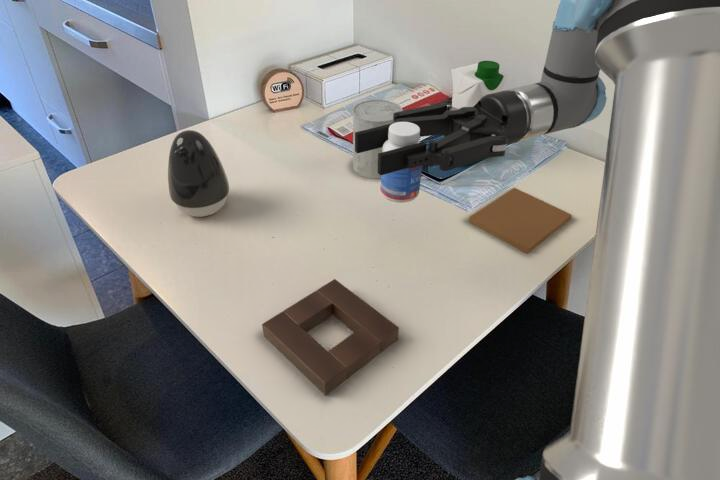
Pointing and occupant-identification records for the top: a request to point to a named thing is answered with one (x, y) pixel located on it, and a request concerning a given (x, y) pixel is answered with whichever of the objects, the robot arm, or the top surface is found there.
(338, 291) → the socket base
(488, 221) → the cork pad
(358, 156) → the concrete cylinder
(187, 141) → the black egg-shaped figure
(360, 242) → the top surface
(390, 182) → the pill bottle
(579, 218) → the top surface
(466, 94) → the milk carton
